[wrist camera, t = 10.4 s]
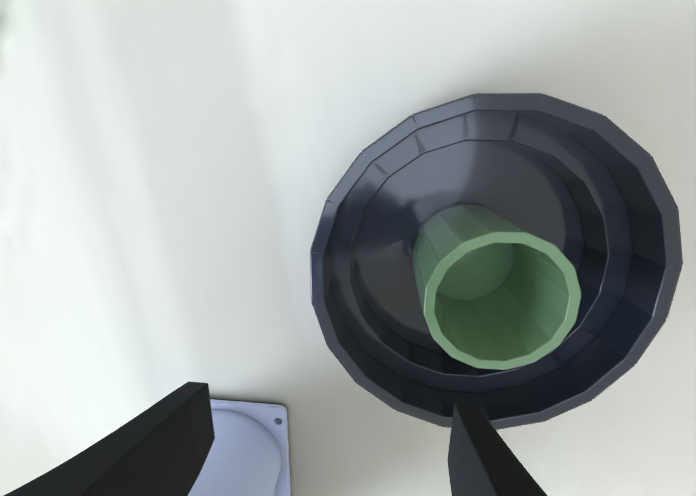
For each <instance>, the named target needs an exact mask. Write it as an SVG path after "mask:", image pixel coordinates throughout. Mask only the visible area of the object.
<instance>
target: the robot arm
mask: <svg viewBox="0 0 696 496" xmlns="http://www.w3.org/2000/svg"><path fill="white" fill-rule="evenodd" d="M277 418H280V419H281V420H278V419H277ZM448 468H449V476H450V484H451V491H452V496H547V495H546V493H545V492H544V491H543V490H542V489H541V487H540V486H539V485H538V484H537V483H536V481H535V480H534V479H533V478H532V476H531V475H530V474H529V473H528V472H527V470H526V469H525V468H524V467H523V465H522V464H521V463H520V462H519V460H518V459H517V458H516V456H515V455H514V454H513V453H512V451H511V450H510V449H509V447H508V446H507V445H506V443H505V442H504V441H503V439H502V438H501V437H500V435H499V434H498V433H497V431H496V430H495V429H494V427H493V426H492V424H491V423H490V422H489V420H488V419H487V417H486V416H485V415H484V413H483V412H482V410H481V409H480V408H479V407H478V406H477V405H472V404H459V403H454V410H453V419H452V428H451V436H450V445H449V453H448ZM4 496H291V487H290V465H289V444H288V422H287V410H286V408H285V407H284V406H282V405H278V404H265V403H252V402H239V401H226V400H213V399H210V395H209V388H208V383H198V382H188V383H186V384H184V385H183V386H181V387H179V388H178V389H176V390H175V391H173V392H172V393H170V394H169V395H167V396H166V397H165V398H163V399H162V400H160V401H159V402H157V403H156V404H154V405H153V406H151V407H150V408H148V409H147V410H146V411H144V412H143V413H141V414H140V415H138V416H137V417H135V418H134V419H132V420H131V421H129V422H128V423H126V424H125V425H123V426H122V427H120V428H119V429H117V430H116V431H114V432H113V433H111V434H109V435H108V436H106V437H105V438H103V439H101V440H100V441H98V442H97V443H95V444H94V445H92V446H90V447H89V448H87V449H86V450H84V451H82V452H81V453H79V454H78V455H76V456H74V457H73V458H71V459H69V460H68V461H66V462H64V463H63V464H61V465H59V466H57V467H56V468H54V469H52V470H51V471H49V472H47V473H45V474H43V475H42V476H40V477H38V478H36V479H34V480H32V481H31V482H29V483H27V484H25V485H23V486H21V487H20V488H18V489H16V490H14V491H12V492H10V493H8V494H6V495H4Z"/></svg>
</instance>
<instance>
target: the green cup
mask: <svg viewBox="0 0 696 496" xmlns="http://www.w3.org/2000/svg"><path fill="white" fill-rule="evenodd" d="M412 268H413V272H414V276H415V280H416V284H417V289H418V293H419V297H420V301H421V306H422V310H423V314H424V317H425V320H426V322H427V325H428V328H429V330H430V333H431V335H432V337H433V339H434V340H435V341H436V342H437V343H438V344H439V345H440V346H441V347H442V348H443V349H444V350H445V351H446V352H447V353H448V354H449V355H450V356H451V357H452V358H455V359H457V360H459V361H462V362H464V363H466V364H469V365H471V366H473V367H476V368H484V369H499V370H505V369H506V370H507V369H511V368H515V367H518V366H522V365H526V364H530V363H533V362H535V361H537V360H538V359H540V358H541V357H543V356H544V355H546V354H547V353H549V352H550V351H552V350H553V349H555V348H556V347H558V345H560V344H561V342H562V341H563V339H564V338H565V337H566V335H567V334H568V332H569V331H570V329H571V328H572V327H573V325H574V324H575V322H576V319H577V314H578V309H579V304H580V300H581V290H580V286H579V283H578V279H577V275H576V271H575V268H574V266H573V265H572V264H571V262H570V261H569V260H568V259H567V258H566V257H565V256H564V254H563V253H562V252H561V251H560V250H559V249H558V248H557V246H555V245H554V244H552V243H551V242H549V241H547V240H546V239H544V238H542V237H540V236H539V235H537V234H535V233H533V232H532V231H530V230H528V229H527V228H525V227H523V226H521V225H520V224H518V223H516V222H514V221H513V220H511V219H509V218H508V217H506V216H504V215H502V214H500V213H498V212H496V211H494V210H492V209H490V208H487V207H484V206H480V205H472V204H464V205H457V206H453V207H450V208H447V209H445V210H442V211H440V212H439V213H437V214H435V215H434V216H433V217H432V218H430V219H429V220H428V221H427V222H426V223H425V224H424V226H423V227H422V228H421V229H420V231H419V233H418V235H417V237H416V239H415V242H414V245H413V250H412Z"/></svg>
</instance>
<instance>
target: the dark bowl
mask: <svg viewBox="0 0 696 496" xmlns="http://www.w3.org/2000/svg"><path fill="white" fill-rule="evenodd" d="M464 204H472V205H480V206H484V207H487V208H490V209H492V210H494V211H496V212H498V213H500V214H502V215H504V216H506V217H508V218H509V219H511V220H513V221H514V222H516V223H518V224H520V225H521V226H523V227H525V228H527V229H528V230H530V231H532V232H533V233H535V234H537V235H539V236H540V237H542V238H544V239H546V240H547V241H549V242H551V243H552V244H554V245H555V246H557V248H558V249H559V250H560V251H561V252H562V253H563V254H564V256H565V257H566V258H567V259H568V260H569V261H570V262H571V264H572V265H573V266H574V268H575V271H576V275H577V279H578V283H579V286H580V290H581V300H580V304H579V309H578V314H577V319H576V322H575V324H574V325H573V327H572V328H571V329H570V331H569V332H568V334H567V335H566V337H565V338H564V339H563V341H562V342H561V344H560V345H558V347H556V348H555V349H553V350H552V351H550V352H549V353H547V354H546V355H544V356H543V357H541V358H540V359H538V360H537V361H535V362H533V363H530V364H526V365H522V366H518V367H515V368H511V369H507V370H506V369H505V370H499V369H484V368H476V367H473V366H471V365H469V364H466V363H464V362H462V361H459V360H457V359H455V358H452V357H451V356H450V355H449V354H448V353H447V352H446V351H445V350H444V349H443V348H442V347H441V346H440V345H439V344H438V343H437V342H436V341H435V340H434V339H433V337H432V335H431V333H430V330H429V328H428V325H427V322H426V320H425V317H424V314H423V310H422V306H421V301H420V297H419V293H418V289H417V284H416V280H415V276H414V272H413V268H412V250H413V245H414V242H415V239H416V237H417V235H418V233H419V231H420V229H421V228H422V227H423V226H424V224H425V223H426V222H427V221H428V220H429V219H430V218H432V217H433V216H434V215H435V214H437V213H439V212H440V211H442V210H445V209H447V208H450V207H453V206H457V205H464ZM682 265H683V260H682V248H681V235H680V223H679V210H678V207H677V205H676V203H675V201H674V199H673V197H672V195H671V193H670V191H669V189H668V187H667V185H666V183H665V181H664V179H663V177H662V175H661V173H660V171H659V169H658V167H657V165H656V163H655V161H654V159H653V157H652V156H651V155H650V154H649V153H648V152H647V151H646V150H644V149H643V148H642V147H641V146H640V145H639V144H637V143H636V142H635V141H634V140H633V139H632V138H630V137H629V136H628V135H627V134H626V133H625V132H623V131H622V130H621V129H620V128H619V127H618V126H616V125H615V124H614V123H613V122H612V121H611V120H609V119H608V118H607V117H606V116H603V115H602V114H600V113H597V112H594V111H591V110H588V109H586V108H583V107H580V106H577V105H574V104H571V103H569V102H566V101H563V100H560V99H557V98H554V97H551V96H549V95H546V94H541V93H477V94H472V95H469V96H466V97H463V98H460V99H457V100H454V101H451V102H448V103H445V104H442V105H439V106H436V107H433V108H430V109H427V110H424V111H421V112H418V113H415V114H413V115H411V116H409V117H408V118H406V119H405V120H404V121H402V122H401V123H400V124H398V125H397V126H395V127H394V128H393V129H391V130H390V131H389V132H387V133H386V134H385V135H383V136H382V137H380V138H379V139H378V140H376V141H375V142H374V143H372V144H371V145H370V146H368V147H367V148H365V149H364V150H363V151H362V152H361V153H360V154H359V155H358V156H357V158H356V159H355V161H354V162H353V163H352V165H351V166H350V167H349V169H348V170H347V172H346V173H345V174H344V176H343V177H342V178H341V180H340V181H339V183H338V184H337V185H336V187H335V188H334V190H333V191H332V192H331V194H330V195H329V196H328V198H327V200H326V202H325V205H324V208H323V211H322V215H321V218H320V221H319V224H318V227H317V230H316V234H315V237H314V240H313V243H312V246H311V251H310V272H311V300H312V301H311V302H312V305H313V308H314V311H315V313H316V316H317V319H318V322H319V324H320V327H321V330H322V333H323V335H324V338H325V341H326V344H327V346H328V348H329V349H330V350H331V351H332V353H333V354H334V355H335V357H336V358H337V359H338V360H339V362H340V363H341V364H342V365H343V367H344V368H345V369H346V371H347V372H348V373H349V374H350V376H351V377H352V378H353V380H354V381H355V382H356V383H357V384H358V385H360V386H361V387H363V388H364V389H365V390H367V391H368V392H370V393H371V394H373V395H374V396H375V397H377V398H378V399H380V400H381V401H383V402H384V403H385V404H387V405H388V406H390V407H391V408H393V409H394V410H396V411H398V412H401V413H404V414H407V415H410V416H413V417H416V418H418V419H421V420H424V421H427V422H430V423H433V424H436V425H438V426H442V427H451V428H452V419H453V410H454V403H459V404H472V405H477V406H478V407H479V408H480V409H481V410H482V412H483V413H484V415H485V416H486V417H487V419H488V420H489V422H490V423H491V424H492V426H493V427H494V429H495V430H498V429H504V428H510V427H516V426H521V425H527V424H533V423H539V422H542V421H543V422H544V421H547V420H549V419H551V418H553V417H556V416H558V415H560V414H562V413H565V412H567V411H569V410H571V409H574V408H576V407H578V406H580V405H583V404H585V403H587V402H589V401H592V399H594V398H595V397H597V396H598V395H599V394H600V393H602V392H603V391H604V390H605V389H606V388H608V387H609V386H610V385H611V384H613V383H614V382H615V381H616V380H618V379H619V378H620V377H621V376H622V375H624V374H625V373H626V372H627V371H629V370H630V369H631V368H632V367H634V364H636V363H637V362H638V360H639V359H640V358H641V356H642V355H643V353H644V352H645V350H646V349H647V347H648V346H649V345H650V343H651V342H652V340H653V339H654V337H655V336H656V334H657V333H658V331H659V330H660V329H661V327H662V326H663V324H664V323H665V321H666V319H667V317H668V314H669V310H670V307H671V303H672V300H673V297H674V293H675V290H676V286H677V283H678V279H679V276H680V272H681V269H682Z"/></svg>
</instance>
